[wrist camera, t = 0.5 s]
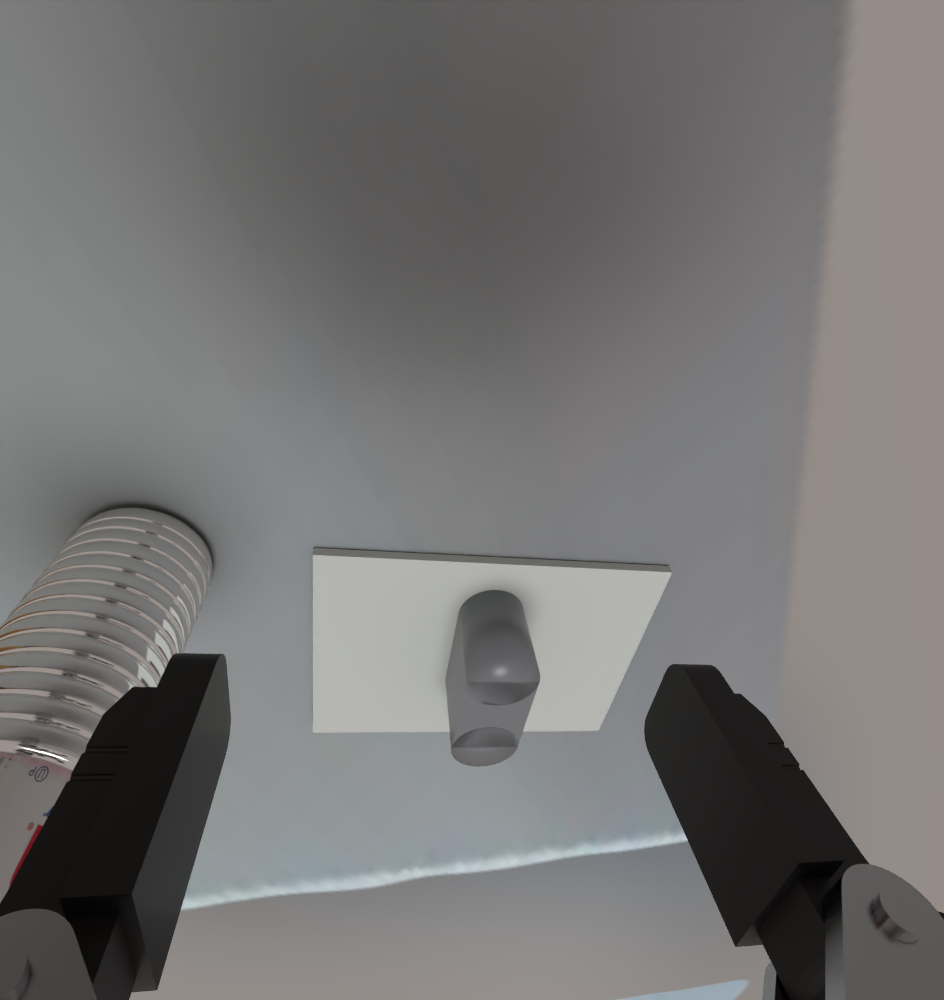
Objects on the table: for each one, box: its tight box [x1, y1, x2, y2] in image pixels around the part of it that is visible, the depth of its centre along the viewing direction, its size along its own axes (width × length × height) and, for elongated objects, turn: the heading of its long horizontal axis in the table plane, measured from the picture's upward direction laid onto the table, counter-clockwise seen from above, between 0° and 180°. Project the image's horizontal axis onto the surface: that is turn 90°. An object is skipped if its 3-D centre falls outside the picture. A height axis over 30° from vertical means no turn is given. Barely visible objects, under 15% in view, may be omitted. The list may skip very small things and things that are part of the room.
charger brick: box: [445, 590, 540, 766], centre depth 34 cm, size 12×4×5 cm, turn 171°
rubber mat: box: [313, 548, 672, 733], centre depth 37 cm, size 16×21×1 cm
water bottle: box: [0, 507, 212, 903], centre depth 19 cm, size 7×7×25 cm
